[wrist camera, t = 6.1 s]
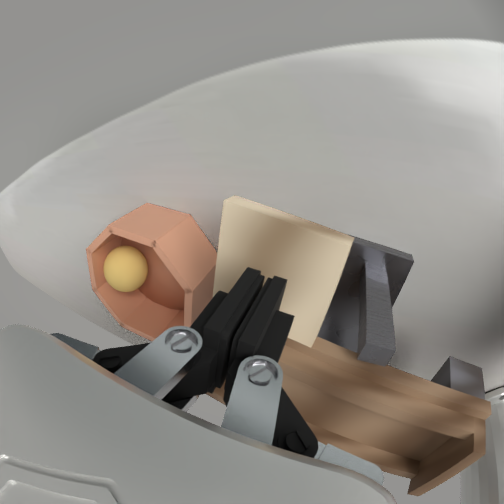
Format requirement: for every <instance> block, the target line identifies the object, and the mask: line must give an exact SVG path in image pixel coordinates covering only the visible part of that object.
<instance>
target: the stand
mask: <svg viewBox="0 0 504 504" xmlns="http://www.w3.org/2000/svg"><path fill="white" fill-rule="evenodd" d="M349 236H351V235H349ZM351 237H354V236H351ZM413 263H414V260H413V257H412V255H410V254H407V253H404V252H401V251H398V250H395V249H392V248H389V247H386V246H383V245H380V244H376V243H373V242H370V241H367V240H364V239H360V238H357V237H354V241H353V243H352V246H351V249H350V252H349V255H348V258H347V261H346V263H345V266H344V269H343V272H342V275H341V277H340V280H339V283H338V285H337V288H336V291H335V293H334V296H333V298H332V301H331V303H330V306H329V308H328V311H327V313H326V316H325V318H324V321H323V323H322V326H321V328H320V330H319V333H318V335H317V336H318V337H320V338H322V339H325V340H327V341H329V342H332V343H334V344H336V345H339V346H341V347H344V348H346V349H348V350H351V351H353V352H356V353H357V360H360V361H364V362H368V363H372V364H376V365H380V366H384V367H385V366H386V365H387V363H388V362H389V360H390V359H391V357H392V356H393V354H394V353H395V351H396V348H395V336H394V325H393V316H392V306H393V305H394V303H395V301H396V299H397V297H398V295H399V293H400V290H401V288H402V286H403V284H404V282H405V280H406V278H407V276H408V274H409V271H410V269H411V267H412V265H413Z"/></svg>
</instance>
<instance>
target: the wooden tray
mask: <svg viewBox="0 0 504 504" xmlns="http://www.w3.org/2000/svg"><path fill="white" fill-rule="evenodd" d="M353 241H354V237H351V236H349V235H346V234H344V233H341V232H338V231H336V230H333V229H330V228H327V227H325V226H322V225H319V224H317V223H314V222H311V221H308V220H305V219H303V218H300V217H297V216H294V215H291V214H289V213H286V212H283V211H280V210H277V209H274V208H271V207H268V206H265V205H262V204H259V203H256V202H253V201H250V200H247V199H244V198H241V197H238V196H232V197H230V198H228V199H226V200H224V202H223V210H222V218H221V226H220V235H219V243H218V252H217V260H216V269H215V278H214V288H213V297H214V296H215V294H216V293H217V292H218V291H223V292H226V293H229V292H230V290H231V289H232V288H233V286H234V285H235V284H236V282H237V281H238V279H239V278H240V277H241V275H242V274H243V273H244V271H245V270H246V268H247V267H250V268H253V269H256V270H259V271H261V275H263V276H265V278H264V283H263V285H264V284H265V282H266V280H267V278H268V277H269V278H272V279H273V277H274V276H278V277H281V278H284V279H287V284H286V288H285V291H284V295H283V298H282V302H281V305H280V309H279V311H281V312H284V313H287V314H291V315H294V316H295V317H294V320H293V323H292V326H291V329H290V332H289V335H288V338H287V340H286V343H285V346H284V349H283V351H282V354H281V357H280V359H279V362H278V364H279V365H280V366H281V369H282V371H283V380H282V388H283V389H284V391H285V392H286V394H287V395H288V397H289V398H290V400H291V401H292V403H293V404H294V405H295V407H296V408H297V410H298V411H299V413H300V414H301V416H302V417H303V419H304V420H305V422H306V423H307V424H308V426H309V427H310V429H311V430H312V432H313V433H314V434H315V436H316V438H317V440H318V442H321V443H323V444H325V445H327V444H328V443H329V444H331V445H333V446H335V447H337V448H339V449H341V450H343V451H346V452H348V453H350V454H352V455H355V456H357V457H359V458H362V459H364V460H366V461H369V462H371V463H373V464H375V465H377V466H378V467H379V468H380V469H381V470H382V471H384V472H387V473H391V474H394V475H398V476H402V477H406V478H410V479H411V481H410V485H409V489H408V494H410V495H415V496H420V495H422V494H424V493H426V492H427V491H429V490H431V489H433V488H435V487H436V486H438V485H440V484H442V483H443V482H445V481H447V480H448V479H450V478H451V477H453V476H455V475H456V474H458V473H459V472H461V471H462V470H464V469H465V468H467V467H468V466H470V465H471V464H473V463H474V462H476V461H477V460H478V459H480V458H481V457H482V456H484V455H485V454H486V425H485V420H486V419H487V418H488V417H489V416H490V415H491V402H490V401H487V400H485V392H484V382H483V374H482V368H480V367H477V366H474V365H472V364H469V363H466V362H464V361H461V360H458V359H456V358H453V357H451V356H450V357H449V358H448V359H447V361H446V362H445V363H444V365H443V366H442V367H441V369H440V370H439V371H438V372H437V374H436V375H435V376H434V377H433V379H432V380H431V381H428V380H426V379H423V378H420V377H417V376H415V375H412V374H409V373H407V372H404V371H401V370H399V369H396V368H394V367H391V366H388V365H386V366H385V367H384V366H380V365H376V364H372V363H368V362H364V361H360V360H357V353H356V352H353V351H351V350H348V349H346V348H344V347H341V346H339V345H336V344H334V343H332V342H329V341H327V340H325V339H322V338H320V337H318V336H317V335H318V333H319V330H320V328H321V326H322V323H323V321H324V318H325V316H326V313H327V311H328V308H329V306H330V303H331V301H332V298H333V296H334V293H335V291H336V288H337V285H338V283H339V280H340V277H341V275H342V272H343V269H344V266H345V263H346V261H347V258H348V255H349V252H350V249H351V246H352V243H353ZM225 381H226V380H225ZM224 387H225V382H224V384H223V385H222V387H221V388H217V387H216V388H215V390H214V392H213V393H212V394H211V393H209V392H207V393H205V394H207V395H209V396H210V397H212V398H214V399H216V400H217V401H219V402H221V403H223V404H225V403H224V401H223V397H224V391H225V390H224Z"/></svg>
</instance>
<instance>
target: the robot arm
mask: <svg viewBox="0 0 504 504" xmlns="http://www.w3.org/2000/svg"><path fill="white" fill-rule="evenodd" d="M264 278H265V276H263V275H261V271H259V270H256V269H253V268H250V267H247V268H246V270H245V271H244V273H243V274H242V275H241V277H240V278H239V279H238V281H237V282H236V284H235V285H234V286H233V288H232V289H231V290H230V292H229V293H226V292H223V291H218V292H217V293H216V294H215V296H214V297H213V298H212V299H211V301H210V302H209V303H208V305H207V306H206V307H205V308H204V310H203V311H202V312H201V313H200V315H199V316H198V317H197V319H196V320H195V321H194V322H193V324H192V325H191V326H190V327H186V326H174V327H171V328H169V329H167V330H165V331H164V332H163V333H162V334H161V335H159V336H158V337H157V338H156V339H155V340H153V341H152V342H151V343H146V344H140V345H133V346H126V347H118V348H110V349H105V350H102V351H100V350H99V347H96V346H94V345H90V344H87V343H85V342H82V341H79V340H77V339H74V338H71V337H68V336H66V335H63V334H59V333H53V334H48V333H46V332H44V331H42V330H39V329H36V328H33V327H29V326H25V325H9V326H7V327H5V328H3V329H1V330H0V504H397V503H396V501H395V499H394V497H393V496H392V495H391V493H390V492H389V491H388V490H386V489H385V488H384V487H383V486H382V485H383V481H384V475H383V472H382V470H381V469H380V468H379V467H378V466H377V465H375V464H373V463H371V462H369V461H366V460H364V459H362V458H359V457H357V456H355V455H352V454H350V453H348V452H346V451H343V450H341V449H339V448H337V447H335V446H333V445H331V444H329V443H328V444H327V445H325V444H323V443H321V442H318V440H317V438H316V436H315V434H314V433H313V432H312V430H311V429H310V427H309V426H308V424H307V423H306V422H305V420H304V419H303V417H302V416H301V414H300V413H299V411H298V410H297V408H296V407H295V405H294V404H293V403H292V401H291V400H290V398H289V397H288V395H287V394H286V392H285V391H284V389H283V388H282V380H283V371H282V369H281V366H280V365H279V364H278V362H279V359H280V357H281V354H282V351H283V349H284V346H285V343H286V340H287V338H288V335H289V332H290V329H291V326H292V323H293V320H294V317H295V316H294V315H291V314H287V313H284V312H281V311H279V309H280V305H281V302H282V298H283V295H284V291H285V288H286V284H287V279H284V278H281V277H278V276H274V277H273V279H272V278H269V277H268V278H267V280H266V282H265V284H264V285H263V283H264ZM225 380H226V381H225ZM224 382H225V387H224V390H225V391H224V397H223V401H224V403H225V405H226V407H227V409H226V412H225V415H224V419H223V422H222V425H221V427H220V426H217V425H215V424H212V423H210V422H207V421H205V420H203V419H200V418H198V417H196V416H193V415H191V414H189V413H187V411H188V410H189V408H190V407H191V406H192V405H193V404H194V403H195V401H196V400H197V399H198V397H199V395H201V394H205V393H207V392H209V393H211V394H212V393H213V392H214V390H215V388H216V387H217V388H221V387H222V385H223V384H224ZM485 400H487V401H490V402H491V415H490V416H489V417H488V418H487V419H486V420H485V425H486V454H485V455H484V456H482V457H481V458H480V459H478V460H477V461H476V462H474V463H473V464H471V465H470V466H468V467H467V468H465V469H464V470H462V471H461V472H460V483H461V498H460V501H461V502H460V504H504V387H502V388H499V389H496V390H493V391H491V392H489V393H486V394H485Z"/></svg>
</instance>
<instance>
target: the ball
mask: <svg viewBox="0 0 504 504" xmlns="http://www.w3.org/2000/svg"><path fill="white" fill-rule="evenodd" d="M103 271H104V276H105V278H106V280H107V282H108V283H109V285H110V286H111V287H113V288H114V289H116V290H118V291H121V292H131V291H134V290H136V289H138V288H139V287H141V286H142V284H143V283H144V282H145V280H146V278H147V275H148V264H147V260H146V258H145V256H144V255H143V254H142V252H140V251H139V250H138V249H136V248H134V247H132V246H119V247H117V248H115V249H113V250H112V251H111V252H110V253H109V254H108V255H107V257H106V259H105V261H104V267H103Z"/></svg>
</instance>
